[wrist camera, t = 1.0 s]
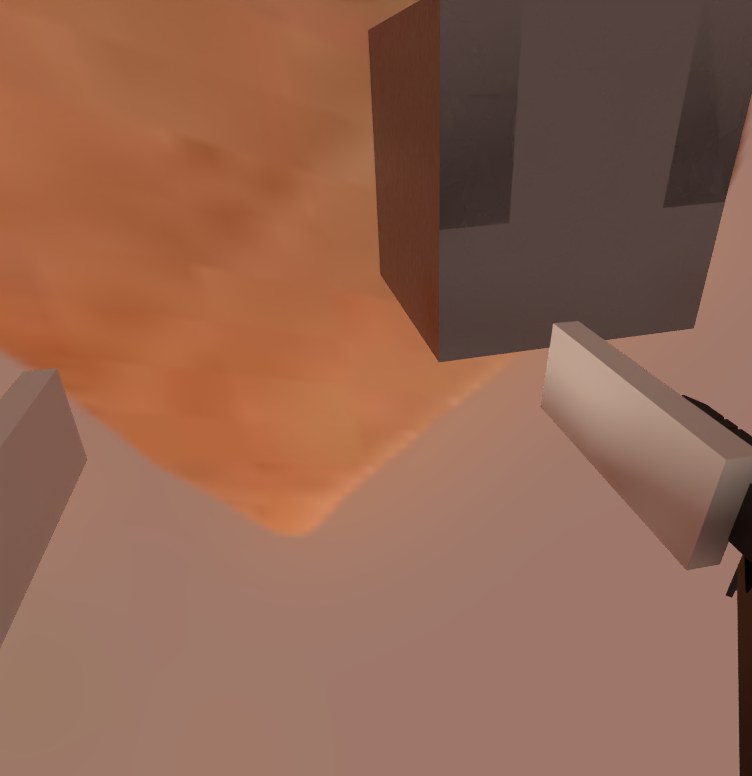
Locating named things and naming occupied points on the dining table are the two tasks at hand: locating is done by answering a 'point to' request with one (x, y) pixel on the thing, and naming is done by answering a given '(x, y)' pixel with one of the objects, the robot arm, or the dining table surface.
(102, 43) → the dining table surface
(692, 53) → the box
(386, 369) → the dining table surface
